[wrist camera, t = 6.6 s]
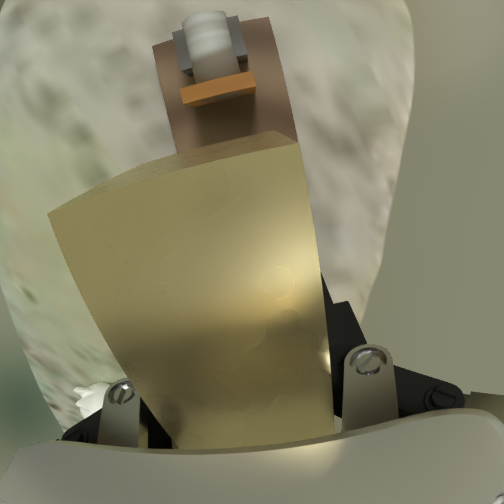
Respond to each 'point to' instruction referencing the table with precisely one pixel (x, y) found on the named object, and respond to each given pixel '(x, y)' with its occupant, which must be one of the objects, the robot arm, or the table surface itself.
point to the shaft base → (222, 81)
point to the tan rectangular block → (210, 290)
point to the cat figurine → (91, 398)
